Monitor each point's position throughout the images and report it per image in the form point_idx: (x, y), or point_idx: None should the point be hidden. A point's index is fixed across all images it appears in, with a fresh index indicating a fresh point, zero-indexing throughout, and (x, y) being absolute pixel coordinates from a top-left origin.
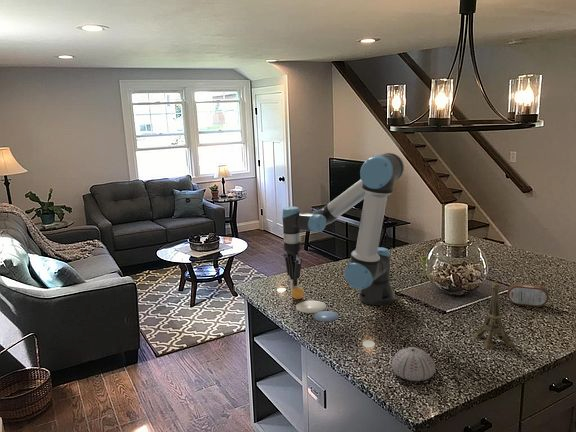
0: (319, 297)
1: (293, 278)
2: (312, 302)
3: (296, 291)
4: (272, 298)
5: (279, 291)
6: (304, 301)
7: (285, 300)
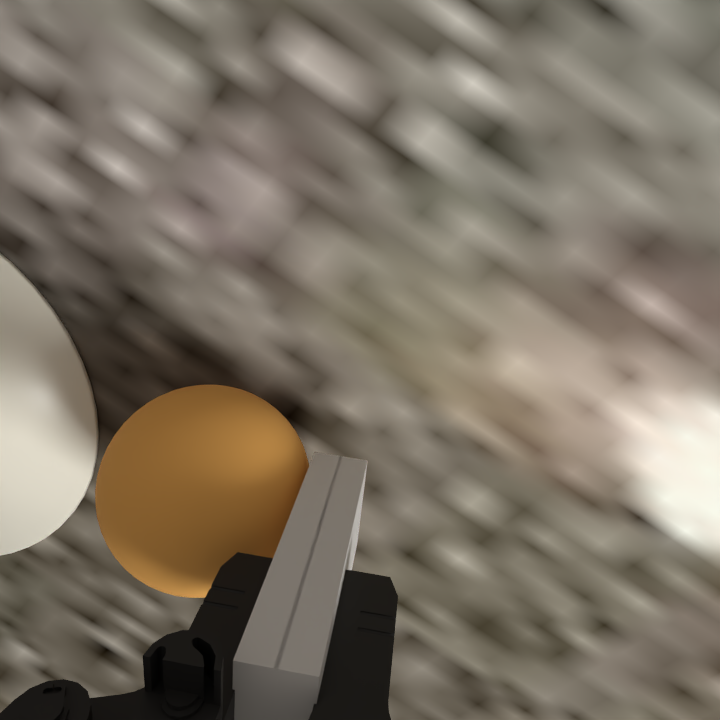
0: (125, 622)
1: (147, 696)
2: (8, 481)
3: (115, 464)
4: (532, 149)
5: (695, 421)
6: (88, 434)
7: (299, 271)
